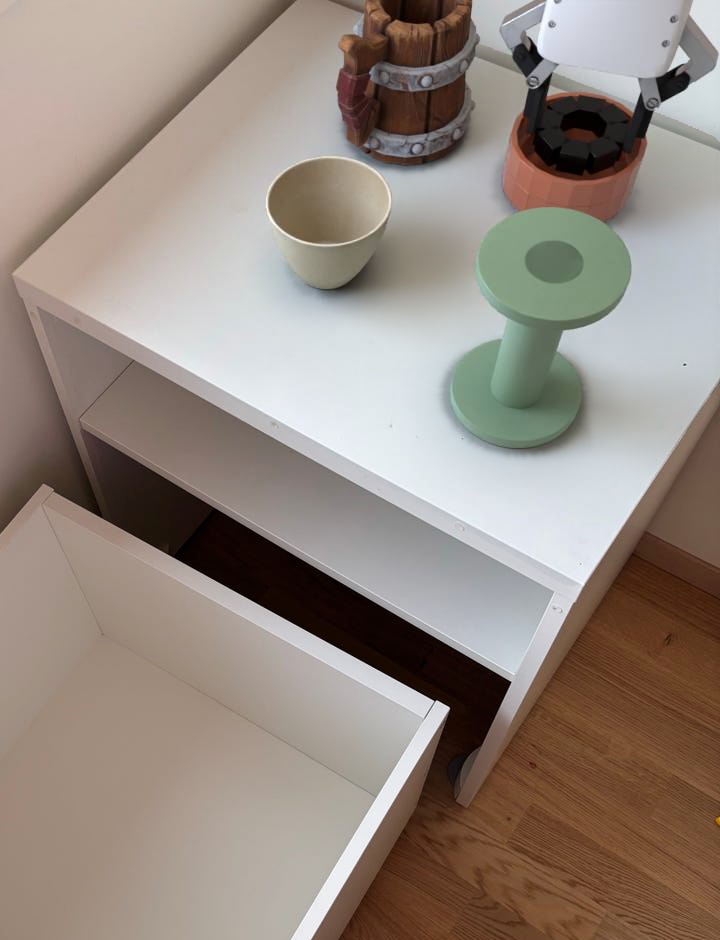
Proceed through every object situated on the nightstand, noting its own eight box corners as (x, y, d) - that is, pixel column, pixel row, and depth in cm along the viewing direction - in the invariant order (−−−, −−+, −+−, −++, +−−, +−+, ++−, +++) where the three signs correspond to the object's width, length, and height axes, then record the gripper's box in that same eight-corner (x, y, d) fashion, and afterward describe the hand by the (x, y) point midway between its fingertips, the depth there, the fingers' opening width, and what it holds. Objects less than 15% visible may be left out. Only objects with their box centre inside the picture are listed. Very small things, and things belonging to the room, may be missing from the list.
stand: (591, 363, 80) (645, 224, 67) (562, 462, 76) (614, 335, 63) (468, 333, 81) (498, 193, 69) (434, 429, 78) (460, 300, 65)
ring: (630, 123, 84) (636, 104, 82) (612, 182, 81) (618, 163, 80) (545, 108, 86) (549, 88, 84) (525, 165, 83) (529, 146, 81)
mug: (505, 112, 91) (518, -40, 77) (401, 219, 90) (395, 84, 76) (408, 57, 95) (403, -97, 81) (306, 159, 94) (284, 20, 80)
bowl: (640, 156, 89) (658, 105, 84) (614, 244, 84) (632, 196, 80) (517, 132, 91) (529, 81, 86) (487, 217, 87) (497, 168, 82)
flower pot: (388, 310, 83) (395, 244, 76) (268, 313, 84) (265, 248, 77) (383, 222, 87) (389, 152, 81) (269, 226, 88) (266, 156, 81)
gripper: (791, -116, 66) (696, 122, 82) (531, -151, 70) (489, 84, 86) (775, -47, 63) (680, 185, 79) (504, -88, 67) (466, 143, 83)
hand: (581, 131), depth 82 cm, fingers closed on ring, 7 cm apart
